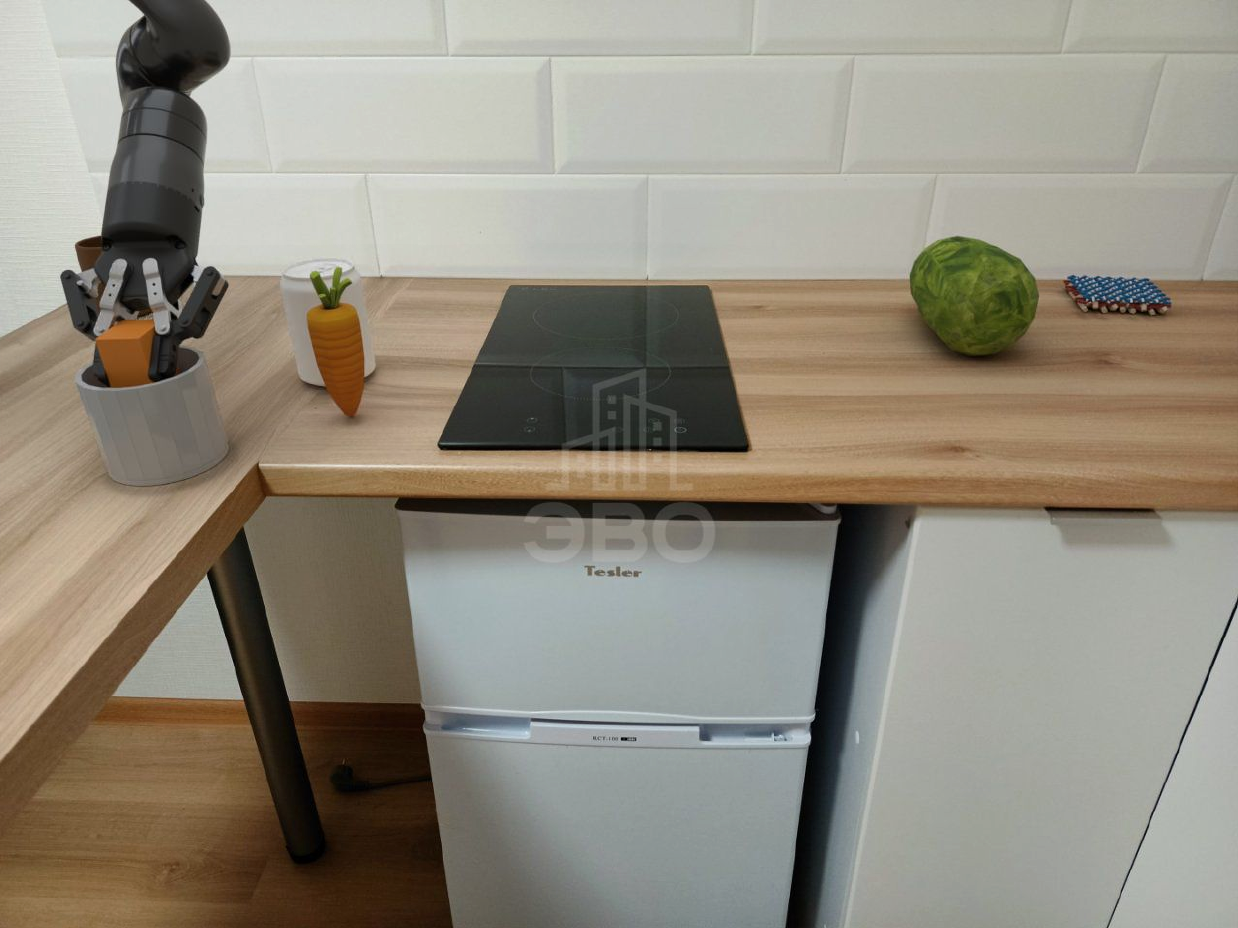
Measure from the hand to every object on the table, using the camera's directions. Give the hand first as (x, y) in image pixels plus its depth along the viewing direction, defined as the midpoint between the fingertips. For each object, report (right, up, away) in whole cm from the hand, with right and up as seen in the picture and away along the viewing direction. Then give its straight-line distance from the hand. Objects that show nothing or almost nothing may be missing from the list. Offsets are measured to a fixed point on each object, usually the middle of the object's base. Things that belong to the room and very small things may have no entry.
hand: (133, 382), depth 72 cm
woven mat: (+105, +14, +39) cm, 113 cm away
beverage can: (+10, +3, +22) cm, 24 cm away
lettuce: (+81, +9, +30) cm, 87 cm away
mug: (-25, +14, +44) cm, 52 cm away
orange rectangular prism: (0, -4, +5) cm, 6 cm away
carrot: (+14, -2, +13) cm, 19 cm away
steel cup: (0, -6, +6) cm, 9 cm away
